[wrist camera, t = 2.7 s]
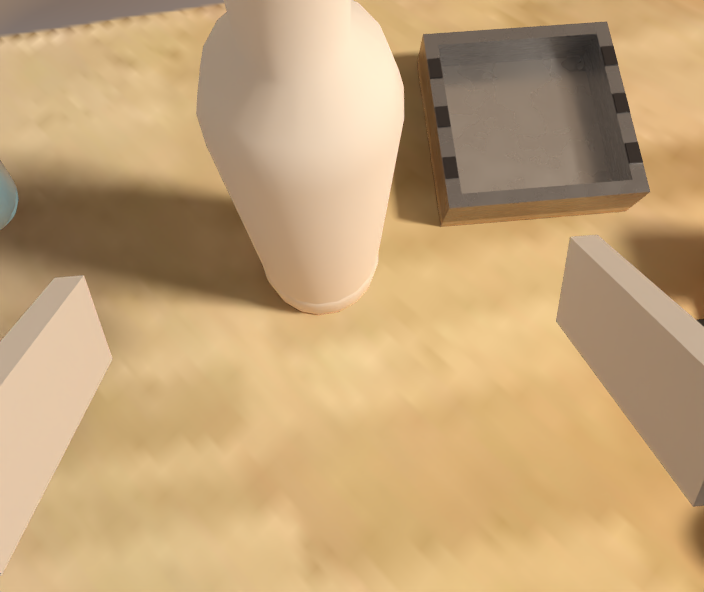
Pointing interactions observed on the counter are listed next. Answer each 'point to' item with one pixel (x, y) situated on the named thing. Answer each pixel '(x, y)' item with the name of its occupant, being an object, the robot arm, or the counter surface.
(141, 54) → the counter surface
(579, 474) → the counter surface
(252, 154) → the bottle
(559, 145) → the open square box
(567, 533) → the counter surface
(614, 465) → the counter surface
